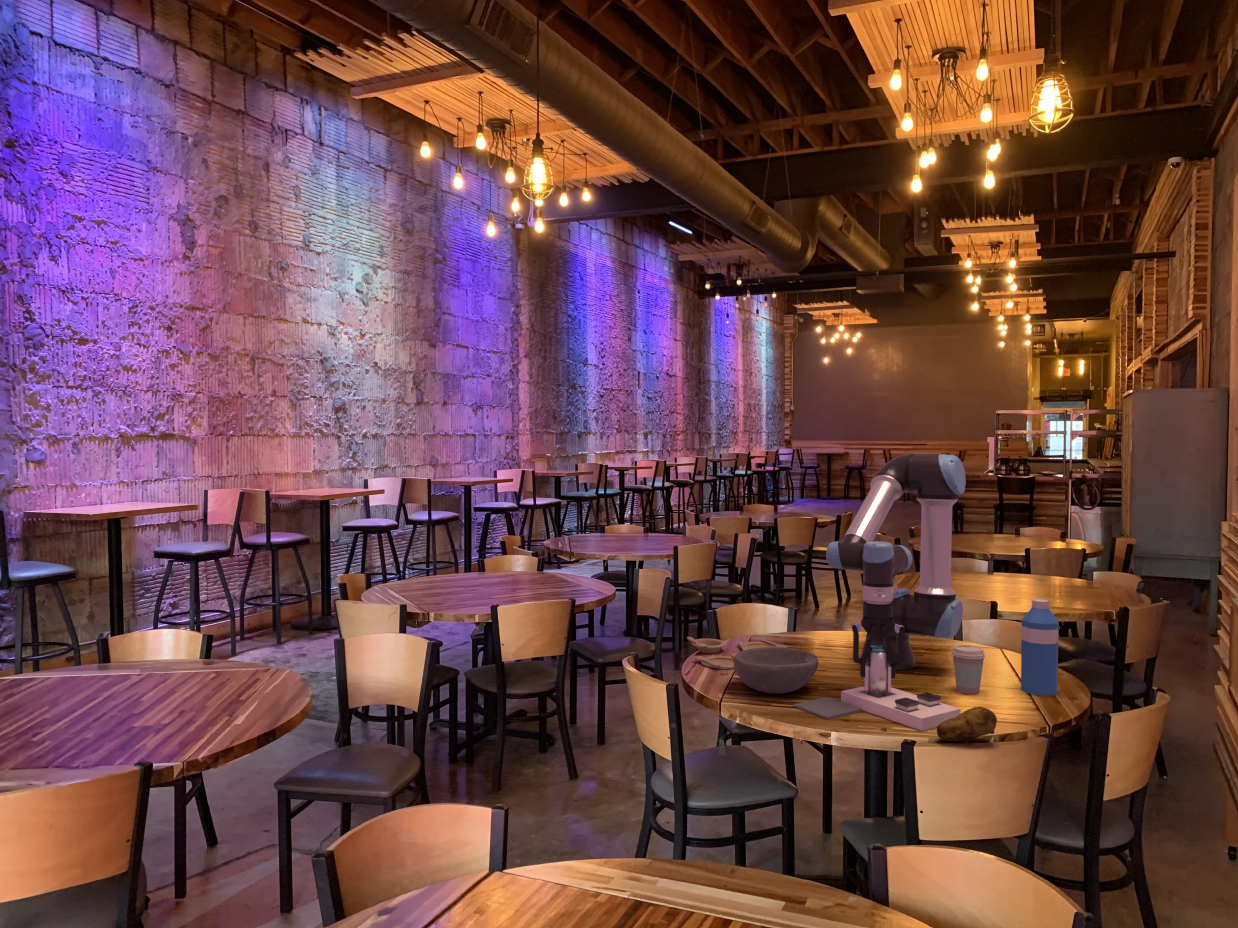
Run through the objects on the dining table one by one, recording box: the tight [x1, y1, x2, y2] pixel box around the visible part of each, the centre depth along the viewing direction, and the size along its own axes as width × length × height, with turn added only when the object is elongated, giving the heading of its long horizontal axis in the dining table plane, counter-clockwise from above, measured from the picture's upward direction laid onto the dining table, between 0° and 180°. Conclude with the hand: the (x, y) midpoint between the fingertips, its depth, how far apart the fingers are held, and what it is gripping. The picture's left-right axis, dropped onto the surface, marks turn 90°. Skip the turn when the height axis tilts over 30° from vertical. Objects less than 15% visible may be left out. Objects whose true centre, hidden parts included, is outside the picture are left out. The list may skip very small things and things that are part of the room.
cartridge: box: [867, 645, 888, 698], centre depth 225 cm, size 5×5×15 cm
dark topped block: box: [916, 692, 942, 707], centre depth 216 cm, size 4×4×3 cm
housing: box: [840, 685, 961, 732], centre depth 219 cm, size 26×14×3 cm, turn 31°
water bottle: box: [1020, 598, 1059, 697], centre depth 236 cm, size 9×9×25 cm
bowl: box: [734, 647, 819, 695], centre depth 238 cm, size 23×22×10 cm
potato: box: [936, 706, 998, 742], centre depth 197 cm, size 8×13×8 cm, turn 70°
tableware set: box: [686, 636, 789, 670], centre depth 276 cm, size 35×29×4 cm
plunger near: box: [895, 698, 919, 713], centre depth 212 cm, size 4×4×3 cm
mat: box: [793, 696, 862, 720], centre depth 221 cm, size 12×12×1 cm
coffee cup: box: [951, 644, 986, 695], centre depth 236 cm, size 8×9×12 cm
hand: (877, 689), depth 225 cm, fingers closed on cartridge, 5 cm apart
